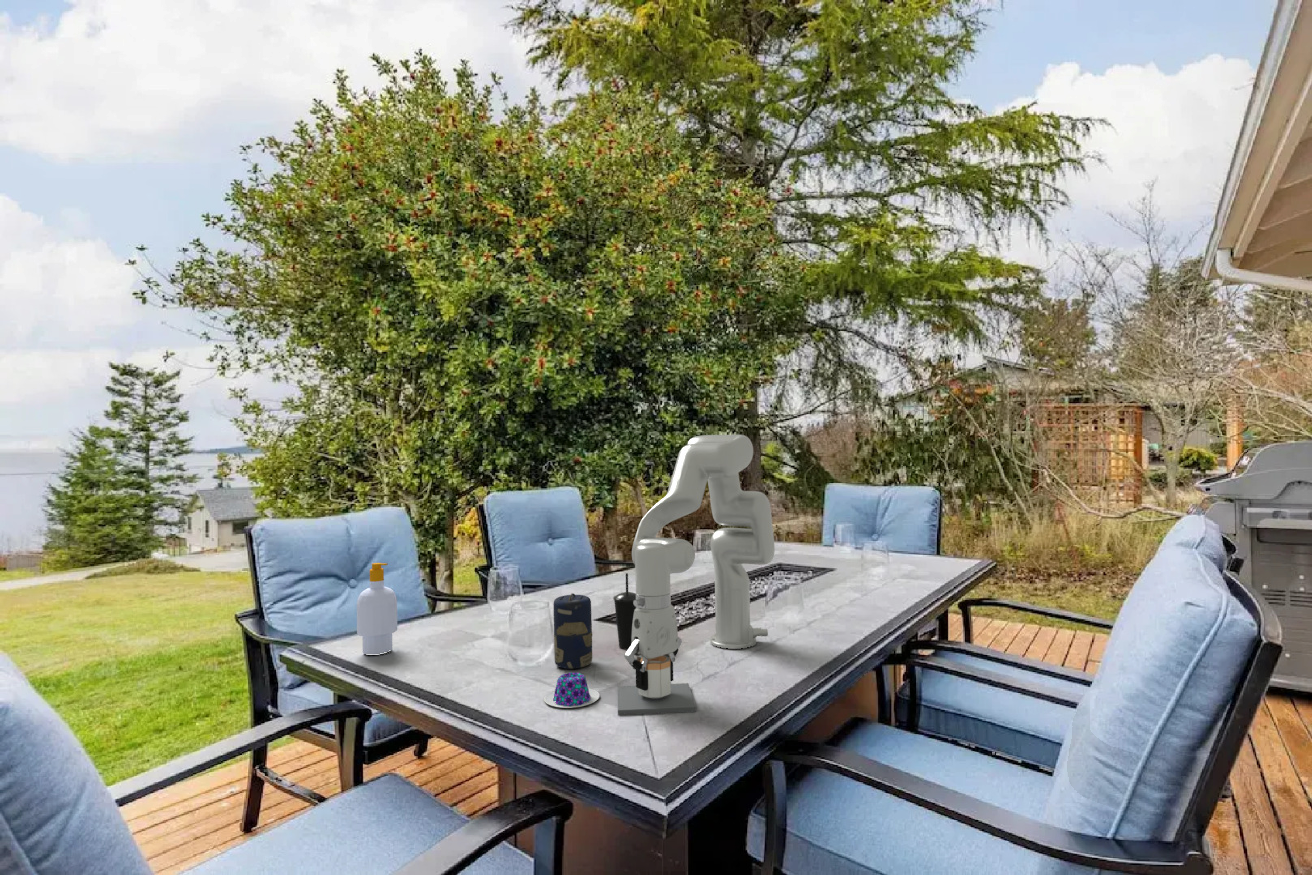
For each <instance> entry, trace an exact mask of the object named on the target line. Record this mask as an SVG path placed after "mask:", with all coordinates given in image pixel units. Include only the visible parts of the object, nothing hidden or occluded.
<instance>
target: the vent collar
mask: <svg viewBox="0 0 1312 875" xmlns="http://www.w3.org/2000/svg"><path fill="white" fill-rule="evenodd" d="M642 660H643V659H642V658H641V661H640V664H641V663H642ZM645 671H648V690H646V691H644V690H642V689H639V694H640V695H642V696H645V697H648V698H650V697H664V696H666V695H669V694H671V684H672V683H671V682H672V681H671V677H670V657H669V656H666V655H663V656H660V657H657V658H654V659H649V660H648V663H647V667H646V670H645Z"/></svg>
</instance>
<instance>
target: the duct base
mask: <svg viewBox="0 0 1312 875" xmlns="http://www.w3.org/2000/svg"><path fill="white" fill-rule="evenodd" d="M689 684H690V683H688V682H687V683H684V682H683V683H671V694H669V695H666V696H664V697H650V698H648V697H645V696H642V695H640V694H639V688H637V687H636V684H634V685H633V684H632V685H618V686H617V716H626V715H627V716H628V715H631V716H632V715H650V714H654V715H655V714H674V713H675V714H679V713H696V712H697V707H696V704H695V699H694V695H693V693H692V690H691V688H690V685H689Z"/></svg>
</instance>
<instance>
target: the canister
mask: <svg viewBox="0 0 1312 875" xmlns="http://www.w3.org/2000/svg"><path fill="white" fill-rule="evenodd" d="M592 624H593V622H592V600H591V598H590V597H589V596H587V595H584V594H575V593H571V594H565V595H561V596H558V597H556V598H555V599H554V600H553V644H554V645H553V646H554V648H553V650H554V652H553V654H554V655H553V656H554V657H553V658H554V664H555V665H556V666H557V667H559V668H561V669H569V670H571V669H580V668H584V667H587V666H589V665H591V663H592V661H593V629H592V628H593V625H592Z"/></svg>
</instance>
